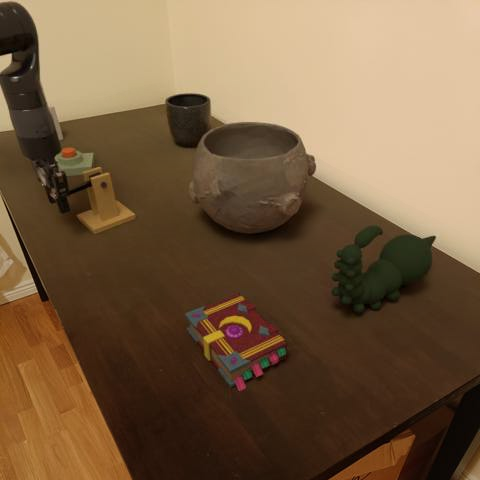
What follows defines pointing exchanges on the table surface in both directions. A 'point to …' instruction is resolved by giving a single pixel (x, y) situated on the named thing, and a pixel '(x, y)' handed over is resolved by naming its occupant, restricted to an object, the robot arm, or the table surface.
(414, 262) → the toy figurine
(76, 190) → the switch lever
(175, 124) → the planter
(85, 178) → the wooden lever stand
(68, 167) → the switch block
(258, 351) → the decorative book
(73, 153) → the button
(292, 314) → the table surface
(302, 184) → the bowl
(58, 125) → the small box
